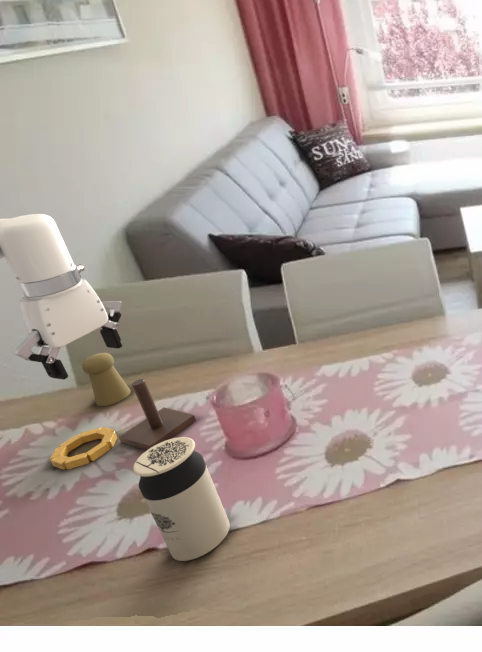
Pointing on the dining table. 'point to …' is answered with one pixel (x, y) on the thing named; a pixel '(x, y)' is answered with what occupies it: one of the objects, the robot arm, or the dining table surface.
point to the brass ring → (108, 441)
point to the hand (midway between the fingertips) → (88, 361)
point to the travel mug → (182, 498)
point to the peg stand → (154, 421)
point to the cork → (105, 379)
